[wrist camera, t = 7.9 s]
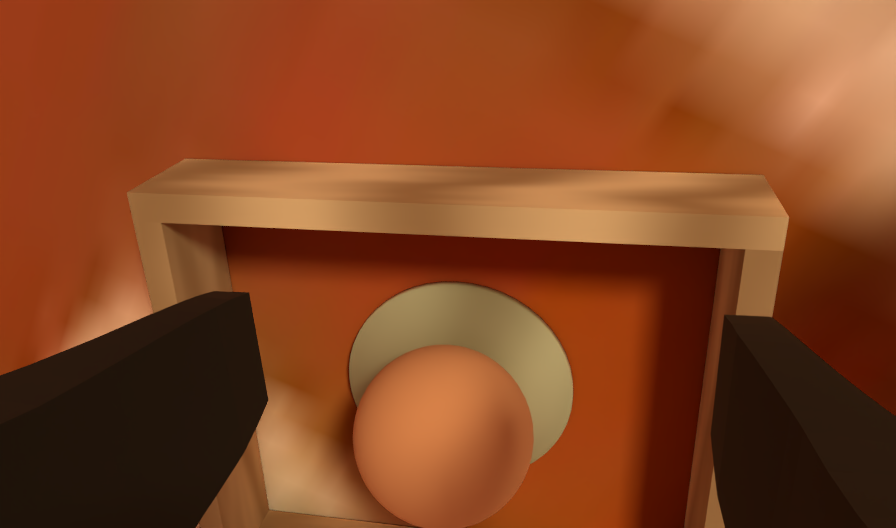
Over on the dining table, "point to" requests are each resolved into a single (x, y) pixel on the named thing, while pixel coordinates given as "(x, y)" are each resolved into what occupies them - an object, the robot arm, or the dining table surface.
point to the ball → (443, 437)
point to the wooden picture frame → (458, 303)
